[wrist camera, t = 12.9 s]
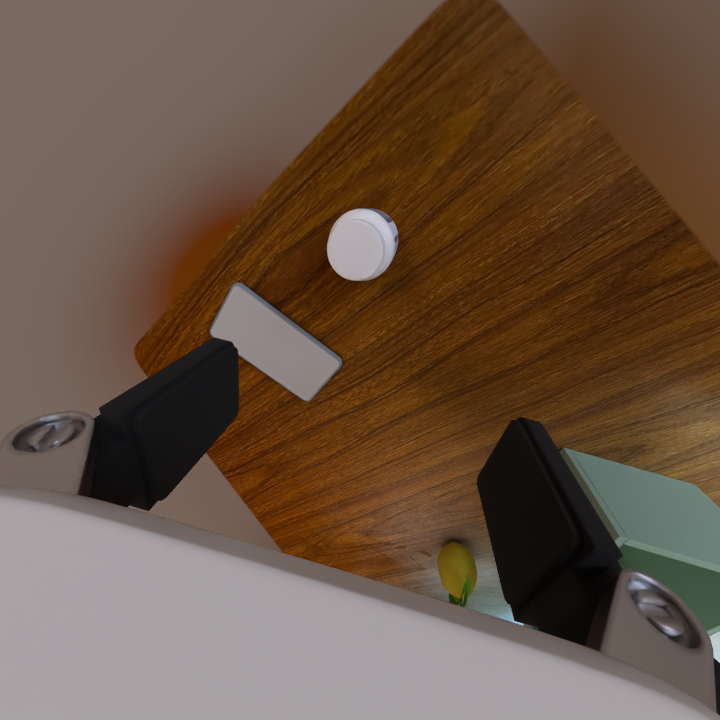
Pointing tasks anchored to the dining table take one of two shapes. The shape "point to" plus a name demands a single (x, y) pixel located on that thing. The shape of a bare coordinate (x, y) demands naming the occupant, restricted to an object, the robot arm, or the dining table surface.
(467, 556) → the lemon
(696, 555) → the green box
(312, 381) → the smartphone
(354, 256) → the pill bottle
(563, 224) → the dining table surface
